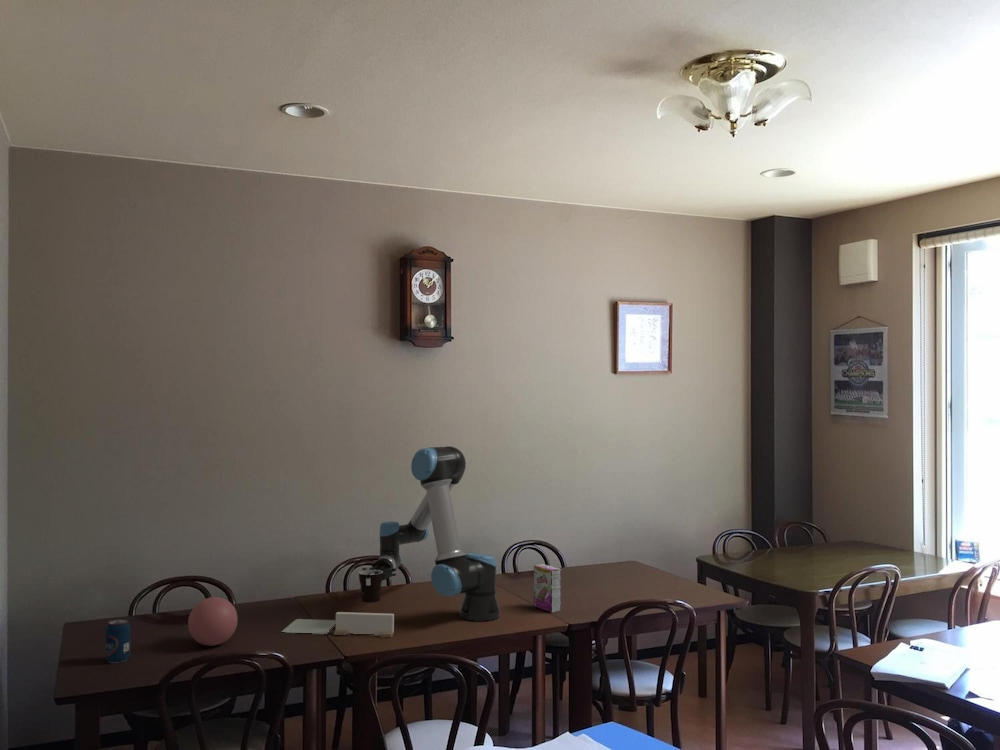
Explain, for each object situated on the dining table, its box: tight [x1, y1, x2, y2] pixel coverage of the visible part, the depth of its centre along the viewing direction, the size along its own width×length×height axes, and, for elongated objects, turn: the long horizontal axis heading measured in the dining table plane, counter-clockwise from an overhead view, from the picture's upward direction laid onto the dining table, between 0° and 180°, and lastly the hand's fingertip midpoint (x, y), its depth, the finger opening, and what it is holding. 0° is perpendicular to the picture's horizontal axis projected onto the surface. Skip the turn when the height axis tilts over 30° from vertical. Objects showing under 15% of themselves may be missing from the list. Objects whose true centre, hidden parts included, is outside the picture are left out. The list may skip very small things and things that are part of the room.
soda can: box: [104, 618, 131, 664], centre depth 252 cm, size 7×7×12 cm
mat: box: [281, 618, 336, 635], centre depth 288 cm, size 16×16×1 cm
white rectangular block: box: [333, 611, 395, 638], centre depth 279 cm, size 20×4×7 cm, turn 85°
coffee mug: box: [358, 569, 383, 604], centre depth 290 cm, size 12×9×10 cm
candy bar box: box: [533, 563, 562, 614], centre depth 314 cm, size 11×5×16 cm, turn 37°
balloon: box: [187, 596, 239, 647], centre depth 270 cm, size 15×20×15 cm
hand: (368, 581), depth 285 cm, fingers closed
